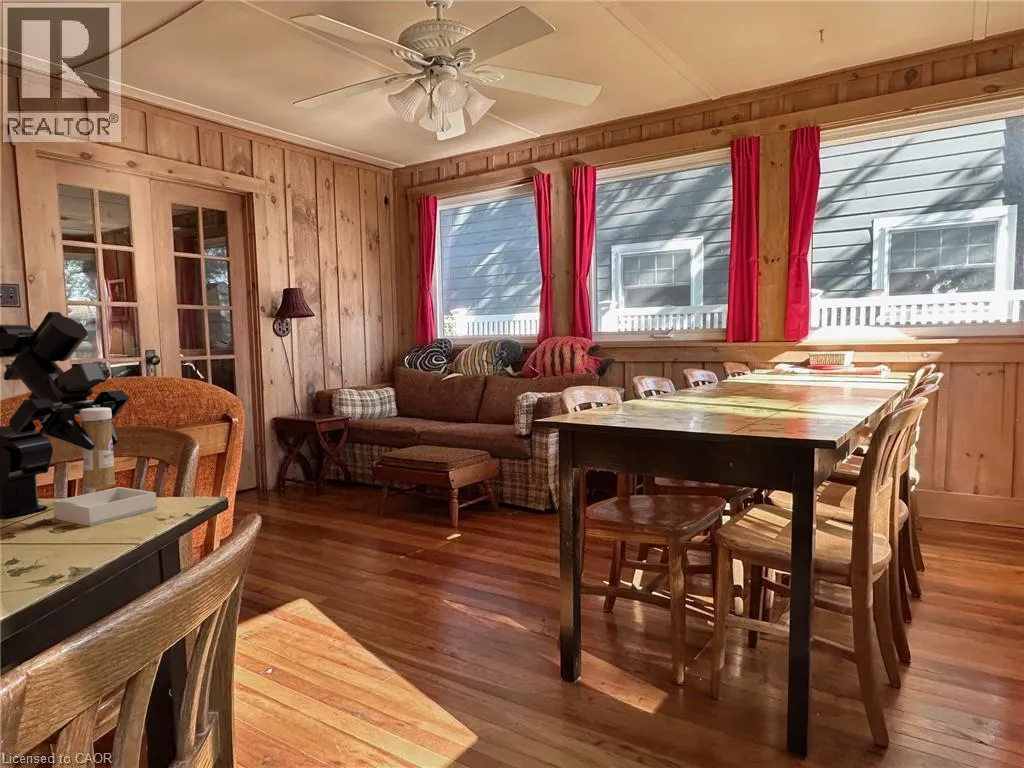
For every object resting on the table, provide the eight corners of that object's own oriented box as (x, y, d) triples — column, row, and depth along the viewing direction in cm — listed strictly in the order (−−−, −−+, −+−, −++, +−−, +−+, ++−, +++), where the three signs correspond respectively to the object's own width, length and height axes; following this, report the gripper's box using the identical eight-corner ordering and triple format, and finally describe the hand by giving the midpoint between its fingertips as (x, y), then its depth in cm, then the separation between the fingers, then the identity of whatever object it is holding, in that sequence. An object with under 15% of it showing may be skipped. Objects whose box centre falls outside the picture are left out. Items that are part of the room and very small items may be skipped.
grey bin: (54, 518, 107) (53, 501, 107) (120, 503, 117) (119, 486, 117) (90, 526, 102) (88, 508, 102) (156, 509, 112) (155, 492, 111)
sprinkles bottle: (116, 487, 108) (111, 408, 107) (84, 491, 105) (78, 410, 104) (115, 482, 112) (110, 406, 111) (84, 486, 109) (79, 408, 108)
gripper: (18, 348, 98) (81, 420, 97) (117, 346, 117) (172, 406, 115) (-19, 398, 101) (43, 469, 99) (84, 388, 119) (137, 448, 117)
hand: (104, 445), depth 108 cm, fingers closed on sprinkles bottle, 4 cm apart
